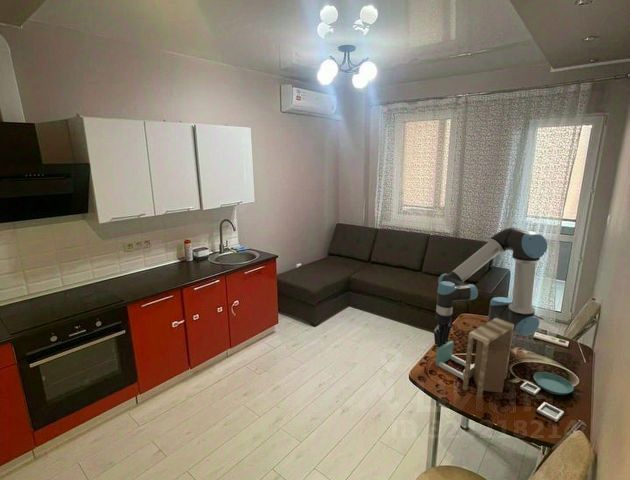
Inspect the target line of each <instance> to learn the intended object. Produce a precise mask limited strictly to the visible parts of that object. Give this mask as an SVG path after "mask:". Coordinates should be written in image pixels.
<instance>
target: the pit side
mask: <svg viewBox="0 0 630 480" xmlns="http://www.w3.org/2000/svg"><path fill="white" fill-rule="evenodd" d="M527 384H528V385H527ZM529 385H530V386H529ZM519 389H520V390H522V391H524V392H526V393H528V394H530V395H532V396H534V397H535V396H536V395H537V394H539V392H540V391H541V390H542V388H541V387H540V386H539V385H537V384H533V383H532V382H529V381H528V380H526V381H524V382H523V383H522V384H521V385H520V387H519Z"/></svg>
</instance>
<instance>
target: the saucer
mask: <svg viewBox="0 0 630 480" xmlns="http://www.w3.org/2000/svg"><path fill="white" fill-rule="evenodd" d="M533 380H534V382H535V383H536V385H537V386H538V387H540V388H541V390H544V391H546V392H548V393H550V394H552V395H559V396H560V395H561V396H562V395H563V396H564V395H568V394H570V393H572V392H573V391H574V389H575V388H574V385H573V384H572V383H571V382H570V381H569V380H567V379H566V378H564V377H563V376H560V375H558V374H555V373H552V372H547V371H541V372H540V371H539V372H536V373H534V375H533Z"/></svg>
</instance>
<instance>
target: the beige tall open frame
mask: <svg viewBox="0 0 630 480" xmlns="http://www.w3.org/2000/svg"><path fill="white" fill-rule="evenodd" d="M513 329H514V324H512V323H509V322H507V321H504V320H501V319H498V318H495V319H493V320H491V321H489V322H488V321H487V322H485V323H484V324H482V325H479V327H477V328H475V329H473V330H471V331H470V332H468V338H467V339H468V340H467V349H466V355H465V361H466V363H465V366H464V370H465V372H464V380H462V381H463V382H462V383H463V384H462V390H464V391H467V390H468V389H469V381H470V378H469V373H470V365H471V364H472V354H473V348H474V347H473V346H474V339H475V340H476V341H477V340H479V341H482V342H484V343H483V351H482V359H481V367H480V375H479V383H478V388H477V391H476V392H477V393H476V398H478V399H480V400H481V399H483V392H484V391H483V386H484V378H485V370H486V362H487V355H488V347H489V343H490V342H491V341H493V340H499V341H501V342H502V343H503V345H504V347H505V348H506V350H507V351H508V357H507V364H506V371H505V378H504V380H506V379H507V375H508V368H509V362H510V354H511V350H512V349H511V348H512V342H513V341H512V336H513V337H514V330H513Z"/></svg>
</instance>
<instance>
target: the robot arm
mask: <svg viewBox="0 0 630 480" xmlns="http://www.w3.org/2000/svg"><path fill="white" fill-rule="evenodd" d="M508 250H509V251H512V253H511V254H512V258H513V259H514V260H515V263H514V276H513V277H514V278H513V289H512V298H509V297H503V296H497V297H492V298H491V299H490V303H489V309H488V319H487V322H489V321H491V320H493V319H495V318H498V319H501V320H504V321H507V322H509V323H512V324H514V329H513V332H515V333H516V334H519V335H520V336H523V337H526V336H530V335H532V334H534V333H535V332H536V331H537V330H538V329H539V326H540V320H539V318H538V317H537V316H535V313H536V311H535V310H536V309H535V308H534V306H532V305H533V294H534V284H535V282H534V281H535V274H536V264H537V262H538V261H540V260H541V258H542V257H543V256H544V255H545V253H546V252H547V250H548V242H547V239H546V237H544V236H543V234H541V233H538V232H535V231H532V230H527V229H523V228H519V227H508V228H505V229H502V230H501V231H499V232H497V233H495V234H494V235H492V236H491V237H490V238H489V239H488V240H487V242H486V244H484V245H483V246H482V247H480V248H479V249H477V250H476V252H474V253H473V254H471V256H469V257H468V258H467V259H465V260H464V261H462V263H460V264H459V265H458V266H457V267H456V268H455V269H453V270H452V271H451V272H449V273H442V274H441V275H440V276H438V279H437V283H438V286H437V295H436V296H437V297H436V309H435V320H436V327H434V328H433V329H432V331H433V336H434V345H436V346H437V347H436V349H437V348H439V347H440V346H442V345H444V344H446V343H448V342H449V337H450V334H451V329H452V326H453V323H452V321H453V312H454V302H462V301H464V302H465V301H473V300H475V299H477V298H478V296H479V290H478V288H477V286H476V285H475V284H473V283H472V284H471V283H467V284H466V283H465V281H466V280H467V279H469V278H470V277H471V276H472V275H474V274H475V273H476V272H477V271H479V270H480V269H481V268H483V267H484V266H485V265H486V264H487V263H489V262H490V261H491V260H492V259H494V258H495V257H496V256H497V255H499V254H503V253H505V252H506V251H508ZM513 341H514V335H513V336H512V342H513Z"/></svg>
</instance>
